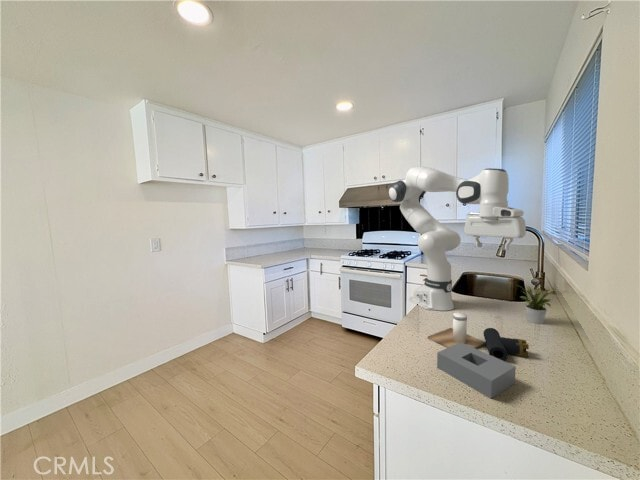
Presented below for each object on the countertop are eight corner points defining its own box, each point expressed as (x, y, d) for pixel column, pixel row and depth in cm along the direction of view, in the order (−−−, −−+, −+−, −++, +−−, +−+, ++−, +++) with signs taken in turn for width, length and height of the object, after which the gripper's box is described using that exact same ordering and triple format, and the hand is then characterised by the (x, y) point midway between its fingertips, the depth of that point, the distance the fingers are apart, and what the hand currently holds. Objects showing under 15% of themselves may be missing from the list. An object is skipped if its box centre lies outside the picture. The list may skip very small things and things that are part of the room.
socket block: (437, 367, 81) (437, 352, 80) (460, 356, 86) (461, 342, 86) (490, 398, 67) (491, 380, 66) (514, 383, 72) (515, 366, 72)
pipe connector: (521, 331, 92) (533, 352, 79) (520, 345, 92) (533, 368, 79) (483, 326, 97) (489, 345, 84) (483, 339, 98) (489, 360, 84)
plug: (449, 339, 96) (450, 314, 95) (457, 336, 98) (457, 311, 97) (461, 345, 92) (462, 318, 91) (469, 341, 94) (469, 315, 93)
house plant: (507, 320, 112) (508, 284, 110) (514, 312, 121) (516, 278, 119) (550, 331, 101) (553, 291, 100) (555, 320, 110) (557, 284, 109)
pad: (427, 338, 99) (427, 336, 99) (450, 329, 106) (450, 327, 106) (462, 355, 87) (462, 353, 87) (486, 344, 93) (486, 342, 93)
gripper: (461, 212, 104) (460, 246, 105) (519, 211, 86) (517, 252, 87) (470, 212, 107) (469, 245, 108) (529, 211, 89) (527, 250, 90)
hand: (491, 248), depth 98 cm, fingers open, 8 cm apart
